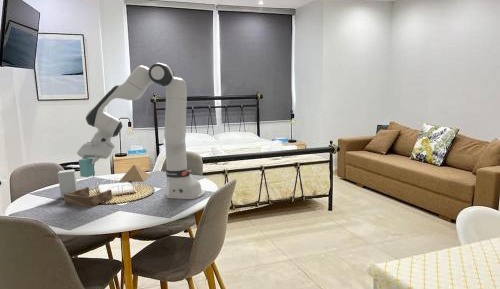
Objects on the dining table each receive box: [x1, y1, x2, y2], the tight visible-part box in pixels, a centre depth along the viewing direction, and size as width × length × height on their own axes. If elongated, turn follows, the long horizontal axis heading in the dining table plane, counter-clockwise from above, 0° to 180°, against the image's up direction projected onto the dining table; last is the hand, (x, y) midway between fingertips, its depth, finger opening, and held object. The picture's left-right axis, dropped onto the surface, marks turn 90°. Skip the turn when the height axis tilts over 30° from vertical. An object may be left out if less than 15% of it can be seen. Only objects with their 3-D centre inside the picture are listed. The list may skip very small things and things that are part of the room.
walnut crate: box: [63, 186, 113, 208], centre depth 192 cm, size 15×18×5 cm
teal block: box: [78, 158, 96, 178], centre depth 190 cm, size 5×5×9 cm
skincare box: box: [57, 168, 79, 199], centre depth 201 cm, size 8×6×15 cm
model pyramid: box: [118, 164, 151, 183], centre depth 239 cm, size 17×17×10 cm
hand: (87, 163), depth 190 cm, fingers closed on teal block, 5 cm apart
